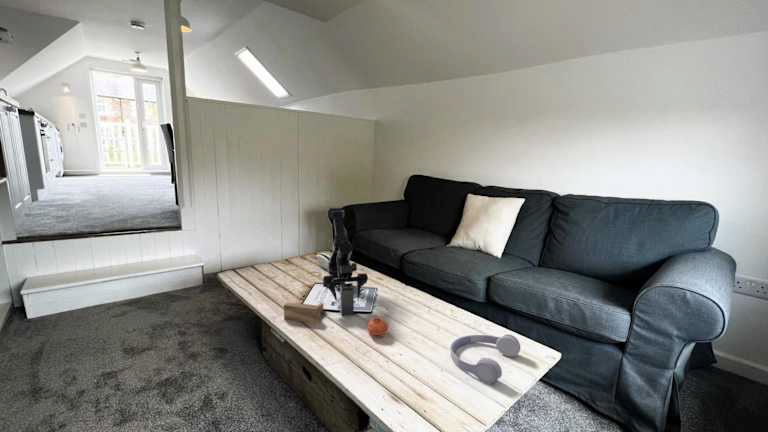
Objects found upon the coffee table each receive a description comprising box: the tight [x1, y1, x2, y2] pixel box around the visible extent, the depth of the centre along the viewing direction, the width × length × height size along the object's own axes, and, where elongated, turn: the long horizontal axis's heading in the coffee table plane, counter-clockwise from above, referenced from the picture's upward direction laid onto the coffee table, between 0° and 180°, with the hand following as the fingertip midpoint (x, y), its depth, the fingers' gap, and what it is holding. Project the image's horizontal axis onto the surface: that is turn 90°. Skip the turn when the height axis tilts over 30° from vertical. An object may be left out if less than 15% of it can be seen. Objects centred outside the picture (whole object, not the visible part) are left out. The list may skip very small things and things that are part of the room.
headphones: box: [450, 333, 521, 385], centre depth 114 cm, size 22×7×20 cm
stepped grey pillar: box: [339, 282, 355, 317], centre depth 142 cm, size 5×5×12 cm
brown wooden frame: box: [283, 299, 324, 324], centre depth 141 cm, size 11×14×6 cm
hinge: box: [315, 252, 331, 271], centre depth 199 cm, size 17×5×10 cm, turn 38°
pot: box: [366, 317, 389, 339], centre depth 127 cm, size 8×8×7 cm
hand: (347, 299), depth 142 cm, fingers open, 9 cm apart
